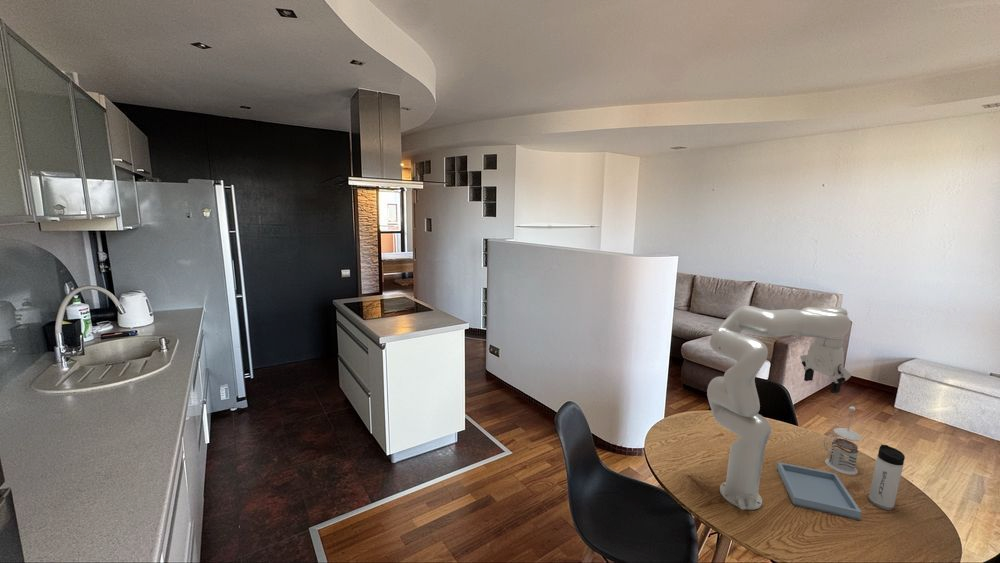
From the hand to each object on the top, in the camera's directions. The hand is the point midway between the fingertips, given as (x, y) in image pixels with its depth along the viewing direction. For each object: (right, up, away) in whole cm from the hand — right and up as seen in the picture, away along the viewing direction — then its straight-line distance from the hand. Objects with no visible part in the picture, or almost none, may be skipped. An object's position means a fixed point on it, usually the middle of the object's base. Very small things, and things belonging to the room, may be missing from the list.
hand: (821, 386), depth 144 cm
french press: (+15, -34, +11) cm, 39 cm away
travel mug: (+13, -38, -8) cm, 41 cm away
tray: (-5, -36, -4) cm, 37 cm away
